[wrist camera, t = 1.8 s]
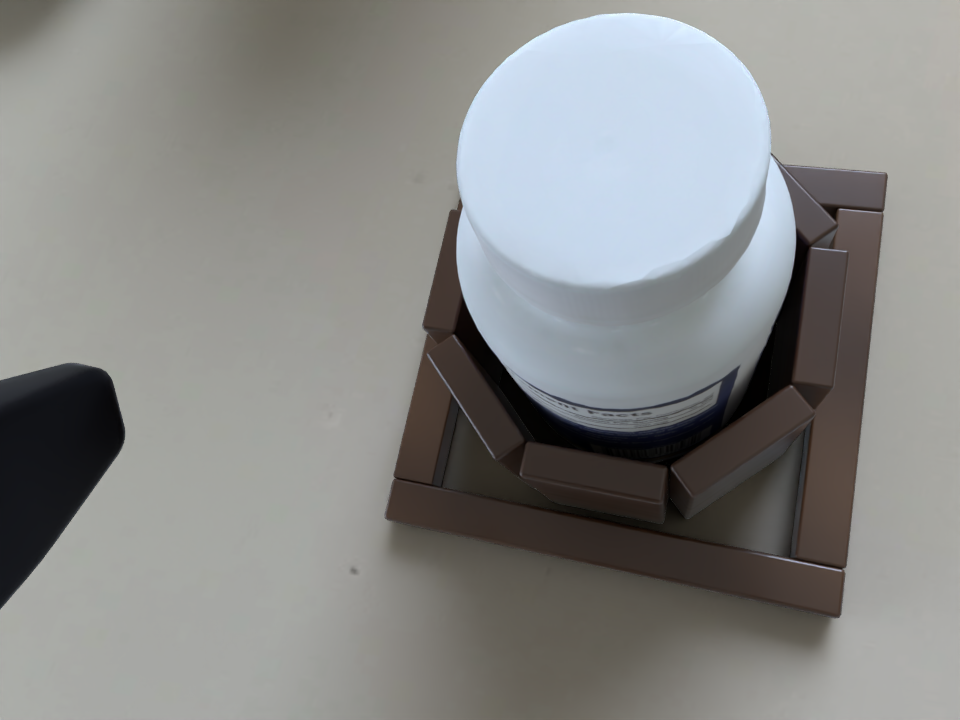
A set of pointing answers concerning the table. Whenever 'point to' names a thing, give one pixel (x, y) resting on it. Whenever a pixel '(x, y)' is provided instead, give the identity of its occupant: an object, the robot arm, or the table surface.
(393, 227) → the table surface
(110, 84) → the table surface
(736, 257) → the pill bottle
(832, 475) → the holder
